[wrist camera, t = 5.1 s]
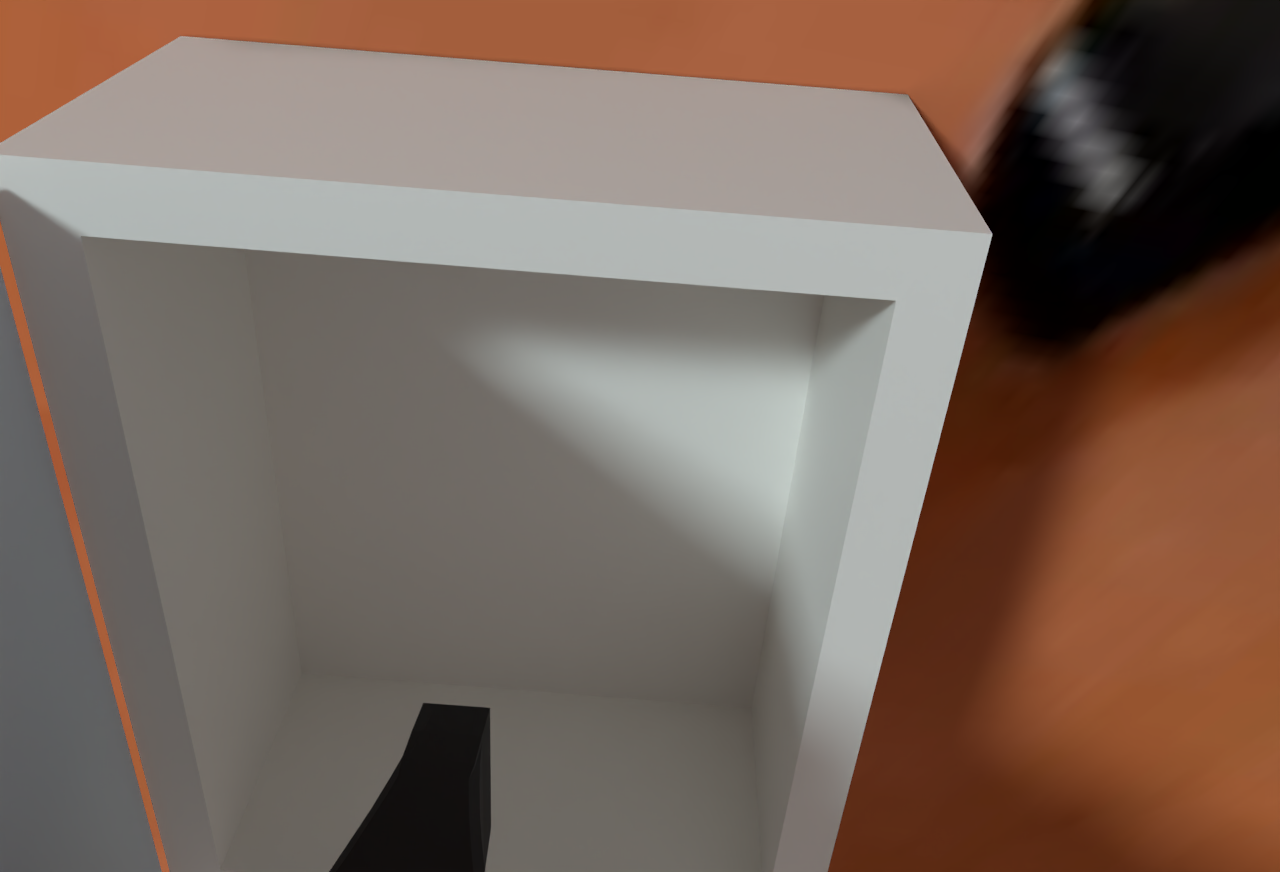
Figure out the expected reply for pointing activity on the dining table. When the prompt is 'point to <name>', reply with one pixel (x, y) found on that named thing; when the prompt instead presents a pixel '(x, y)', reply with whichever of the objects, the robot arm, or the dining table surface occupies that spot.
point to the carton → (493, 435)
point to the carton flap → (53, 670)
